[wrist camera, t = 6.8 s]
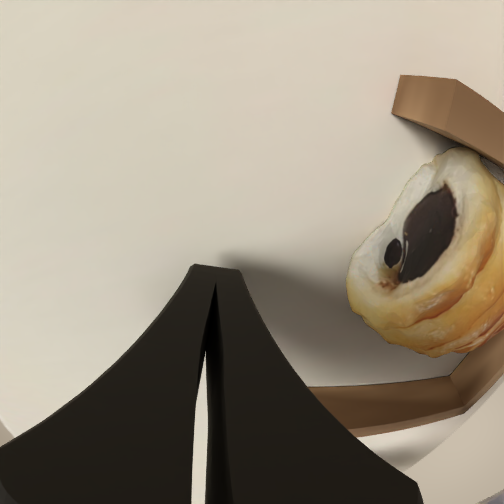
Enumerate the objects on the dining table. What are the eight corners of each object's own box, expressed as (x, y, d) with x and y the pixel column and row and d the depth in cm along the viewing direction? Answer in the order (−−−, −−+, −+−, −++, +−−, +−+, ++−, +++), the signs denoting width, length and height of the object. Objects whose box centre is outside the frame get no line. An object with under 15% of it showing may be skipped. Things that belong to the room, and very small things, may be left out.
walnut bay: (450, 384, 15) (464, 413, 13) (279, 399, 14) (285, 442, 11) (567, 189, 8) (598, 212, 6) (400, 74, 6) (456, 79, 4)
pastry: (523, 253, 10) (567, 300, 7) (440, 346, 13) (468, 401, 10) (437, 121, 7) (526, 159, 4) (312, 279, 10) (341, 370, 7)
